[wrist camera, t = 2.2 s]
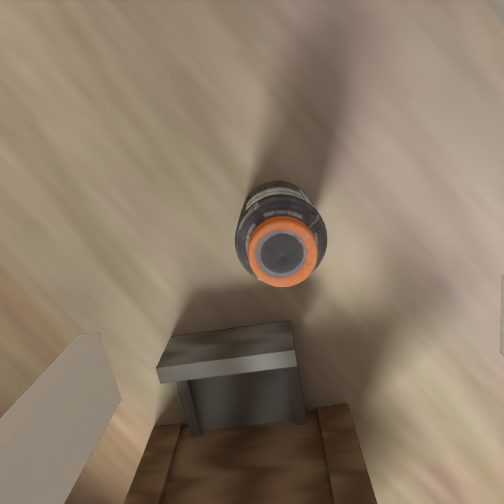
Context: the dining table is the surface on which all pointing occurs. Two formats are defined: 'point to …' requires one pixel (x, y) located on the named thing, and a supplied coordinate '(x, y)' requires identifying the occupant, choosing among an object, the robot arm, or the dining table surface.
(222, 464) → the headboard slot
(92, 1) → the dining table surface
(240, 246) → the pill bottle
